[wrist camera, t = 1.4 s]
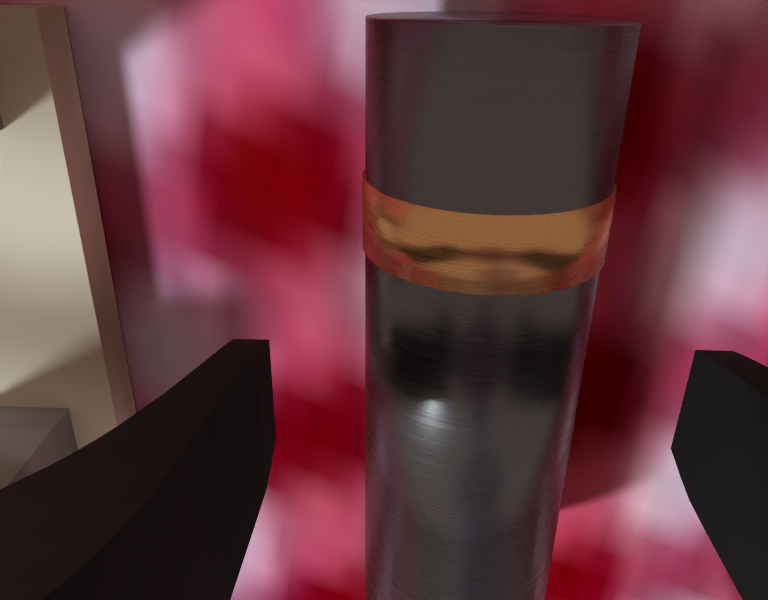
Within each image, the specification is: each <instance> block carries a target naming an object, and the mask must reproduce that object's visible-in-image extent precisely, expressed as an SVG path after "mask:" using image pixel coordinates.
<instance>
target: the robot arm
mask: <svg viewBox="0 0 768 600" xmlns="http://www.w3.org/2000/svg"><path fill="white" fill-rule="evenodd" d="M275 440H276V431H275V417H274V403H273V390H272V376H271V362H270V348H269V340H254V339H233V340H231V341H230V342H229V343H227V344H226V345H225V346H223V347H222V348H221V349H219V350H218V351H217V352H216V353H214V354H213V355H212V356H211V357H210V358H208V359H207V360H206V361H205V362H203V363H202V364H201V365H200V366H198V367H197V368H196V369H195V370H193V371H192V372H191V373H190V374H188V375H187V376H186V377H184V378H183V379H182V380H181V381H179V382H178V383H177V384H176V385H174V386H173V387H172V388H170V389H169V390H168V391H167V392H165V393H164V394H163V395H161V396H160V397H158V398H157V399H155V400H154V401H153V402H151V403H150V404H148V405H147V406H145V407H144V408H143V409H141V410H140V411H138V412H137V413H135V414H134V415H133V416H131V417H130V418H128V419H127V420H125V421H124V422H123V423H121V424H120V425H118V426H117V427H115V428H114V429H112V430H111V431H109V432H107V433H106V434H104V435H103V436H101V437H99V438H98V439H96V440H94V441H93V442H91V443H89V444H87V445H86V446H84V447H82V448H80V449H79V450H77V451H75V452H73V453H72V454H70V455H68V456H66V457H65V458H63V459H61V460H59V461H57V462H55V463H53V464H52V465H50V466H48V467H45V468H43V469H41V470H39V471H37V472H35V473H33V474H31V475H29V476H27V477H25V478H23V479H20V480H18V481H16V482H14V483H12V484H10V485H8V486H6V487H4V488H2V489H0V600H230V599H231V596H232V593H233V590H234V587H235V584H236V581H237V578H238V575H239V572H240V568H241V565H242V562H243V559H244V556H245V553H246V550H247V547H248V544H249V541H250V538H251V535H252V532H253V529H254V526H255V523H256V520H257V517H258V514H259V511H260V507H261V504H262V501H263V498H264V495H265V492H266V488H267V484H268V478H269V473H270V468H271V463H272V457H273V452H274V446H275ZM671 450H672V453H673V456H674V459H675V462H676V465H677V468H678V471H679V473H680V476H681V479H682V482H683V484H684V487H685V490H686V492H687V495H688V497H689V500H690V502H691V504H692V506H693V508H694V510H695V512H696V514H697V516H698V518H699V519H700V521H701V523H702V525H703V527H704V529H705V531H706V533H707V535H708V536H709V538H710V540H711V542H712V544H713V546H714V548H715V550H716V551H717V553H718V555H719V557H720V559H721V561H722V562H723V564H724V566H725V568H726V570H727V572H728V574H729V575H730V577H731V579H732V581H733V583H734V585H735V586H736V588H737V590H738V592H739V594H740V596H741V598H742V599H743V600H768V367H766V366H764V365H762V364H760V363H758V362H756V361H754V360H752V359H750V358H748V357H746V356H743V355H741V354H738V353H736V352H734V351H711V350H695V354H694V358H693V362H692V366H691V370H690V374H689V378H688V382H687V386H686V390H685V394H684V398H683V402H682V406H681V410H680V414H679V418H678V422H677V426H676V430H675V434H674V438H673V442H672V446H671Z"/></svg>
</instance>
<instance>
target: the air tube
mask: <svg viewBox="0 0 768 600" xmlns="http://www.w3.org/2000/svg"><path fill="white" fill-rule="evenodd" d="M641 23H642V22H640V21H636V20H630V19H622V18H612V17H601V16H586V15H568V14H546V13H516V12H398V13H381V14H372V15H367V16H366V169H365V170H364V172H363V249H364V252H365V594H366V600H545V595H546V589H547V583H548V577H549V571H550V565H551V559H552V553H553V547H554V541H555V535H556V529H557V523H558V517H559V511H560V505H561V499H562V493H563V487H564V482H565V476H566V470H567V464H568V458H569V452H570V446H571V440H572V434H573V428H574V422H575V416H576V410H577V404H578V398H579V392H580V386H581V380H582V374H583V368H584V362H585V356H586V350H587V345H588V339H589V333H590V327H591V321H592V315H593V309H594V303H595V297H596V291H597V285H598V279H599V273H600V270H601V269H602V267H603V266H604V263H605V257H606V251H607V245H608V239H609V233H610V227H611V222H612V216H613V210H614V204H615V198H616V192H617V185H616V183H615V178H616V172H617V166H618V160H619V154H620V148H621V142H622V136H623V130H624V124H625V118H626V112H627V106H628V100H629V94H630V88H631V82H632V76H633V71H634V65H635V59H636V53H637V47H638V41H639V35H640V29H641Z"/></svg>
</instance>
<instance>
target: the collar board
mask: <svg viewBox="0 0 768 600" xmlns="http://www.w3.org/2000/svg"><path fill="white" fill-rule="evenodd" d="M135 413H136V409H135V403H134V398H133V392H132V387H131V381H130V375H129V370H128V364H127V359H126V353H125V347H124V342H123V336H122V331H121V325H120V319H119V314H118V308H117V303H116V297H115V291H114V286H113V280H112V275H111V269H110V263H109V258H108V252H107V247H106V241H105V235H104V230H103V224H102V219H101V213H100V207H99V202H98V196H97V191H96V185H95V179H94V174H93V168H92V163H91V157H90V151H89V146H88V140H87V135H86V129H85V124H84V118H83V112H82V107H81V101H80V96H79V90H78V84H77V79H76V73H75V68H74V62H73V56H72V51H71V45H70V40H69V34H68V28H67V23H66V17H65V12H64V6H63V5H5V4H0V489H2V488H4V487H6V486H8V485H10V484H12V483H14V482H16V481H18V480H20V479H23V478H25V477H27V476H29V475H31V474H33V473H35V472H37V471H39V470H41V469H43V468H45V467H48V466H50V465H52V464H53V463H55V462H57V461H59V460H61V459H63V458H65V457H66V456H68V455H70V454H72V453H73V452H75V451H77V450H79V449H80V448H82V447H84V446H86V445H87V444H89V443H91V442H93V441H94V440H96V439H98V438H99V437H101V436H103V435H104V434H106V433H107V432H109V431H111V430H112V429H114V428H115V427H117V426H118V425H120V424H121V423H123V422H124V421H125V420H127V419H128V418H130V417H131V416H133V415H134V414H135Z"/></svg>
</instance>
